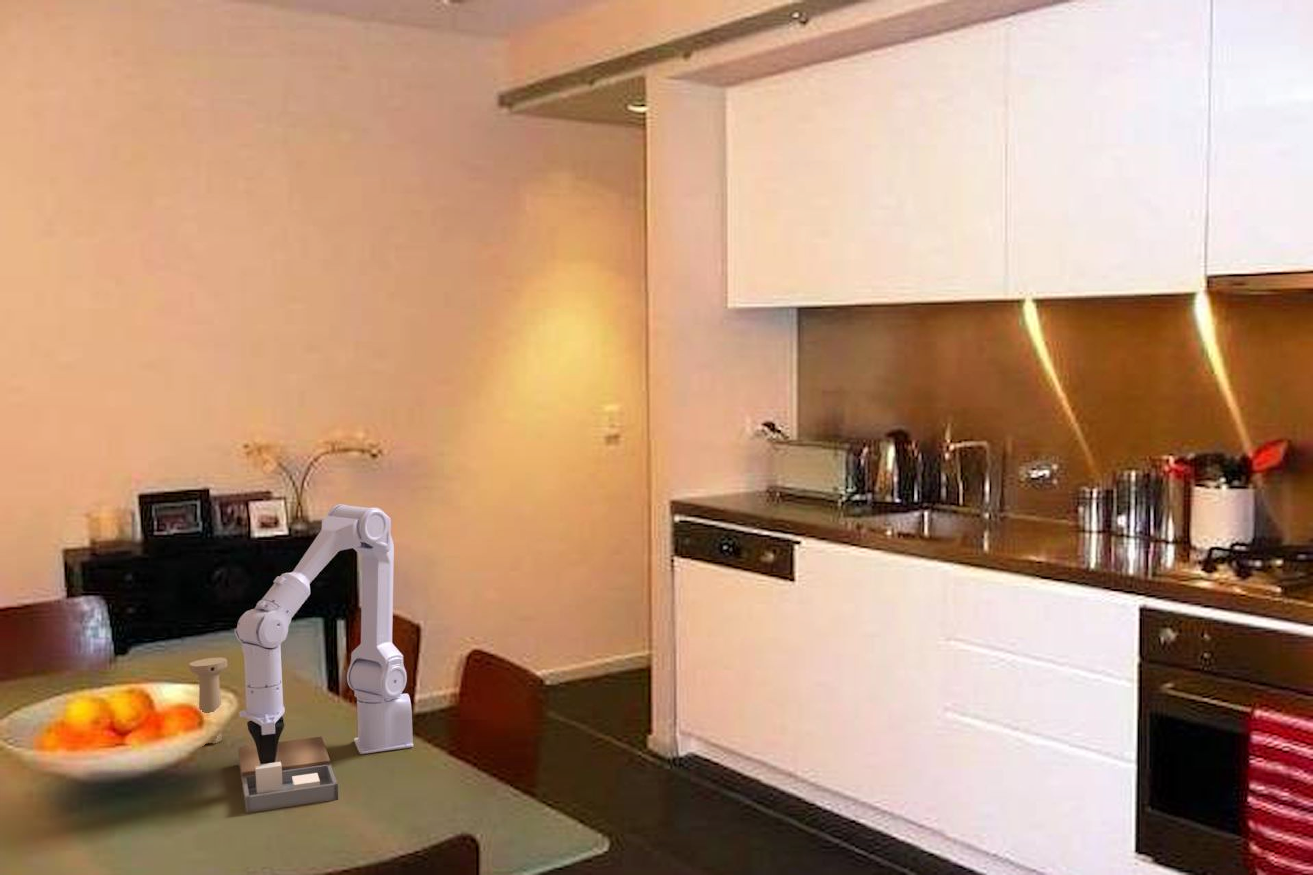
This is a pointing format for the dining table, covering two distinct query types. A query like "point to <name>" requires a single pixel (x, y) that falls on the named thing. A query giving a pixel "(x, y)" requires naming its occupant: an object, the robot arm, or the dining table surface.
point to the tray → (291, 790)
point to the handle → (209, 684)
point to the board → (287, 755)
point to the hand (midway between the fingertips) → (267, 764)
